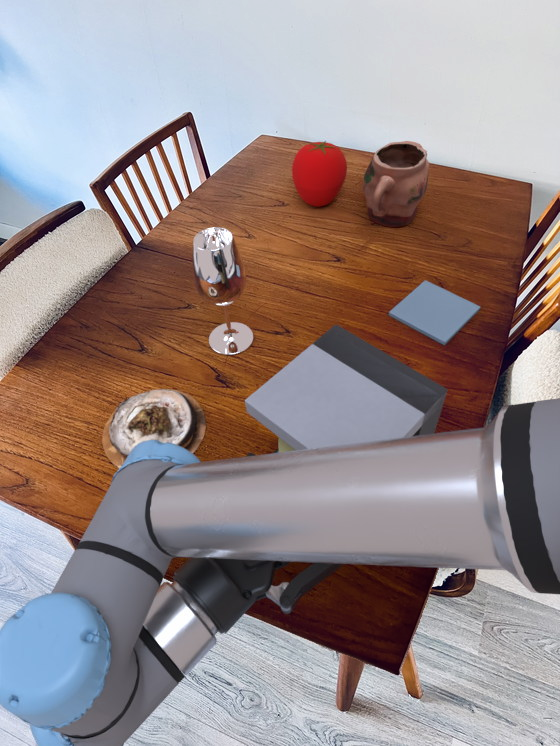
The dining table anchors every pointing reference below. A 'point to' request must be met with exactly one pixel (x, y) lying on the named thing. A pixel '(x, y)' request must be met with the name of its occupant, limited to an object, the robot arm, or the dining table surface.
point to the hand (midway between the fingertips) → (344, 455)
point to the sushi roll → (153, 423)
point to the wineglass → (221, 285)
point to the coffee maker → (346, 396)
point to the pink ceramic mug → (396, 183)
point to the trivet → (434, 312)
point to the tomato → (319, 172)
